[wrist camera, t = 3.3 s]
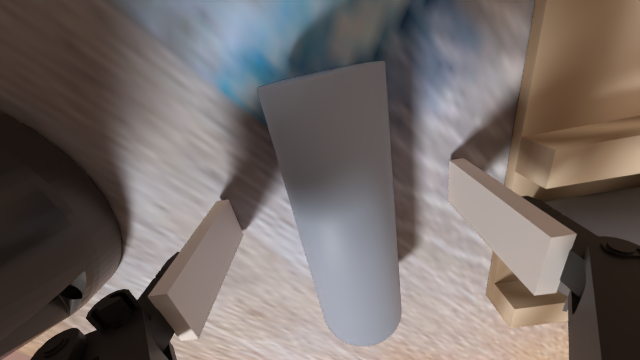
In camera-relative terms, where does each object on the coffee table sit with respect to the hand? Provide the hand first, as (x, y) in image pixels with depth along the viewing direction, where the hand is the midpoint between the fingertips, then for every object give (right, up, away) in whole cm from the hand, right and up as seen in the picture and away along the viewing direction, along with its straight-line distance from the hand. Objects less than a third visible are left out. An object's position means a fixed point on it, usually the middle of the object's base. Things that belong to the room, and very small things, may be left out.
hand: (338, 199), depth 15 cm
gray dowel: (0, 0, 0) cm, 0 cm away
